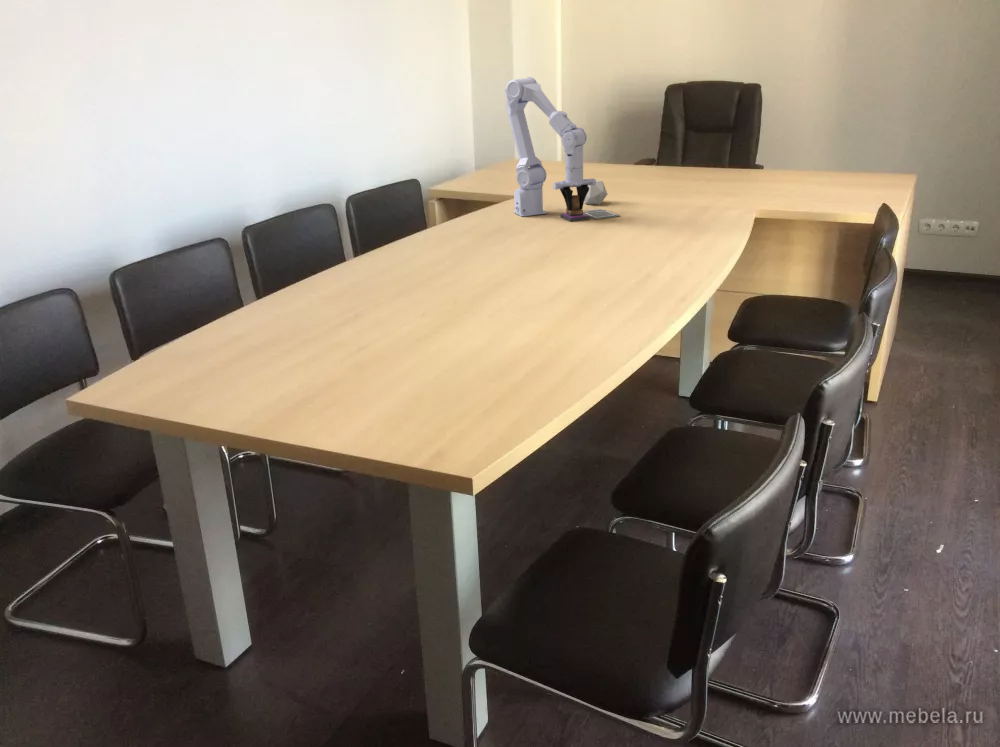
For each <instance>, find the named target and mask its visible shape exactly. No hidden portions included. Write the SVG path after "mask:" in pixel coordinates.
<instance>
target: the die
mask: <svg viewBox="0 0 1000 747" xmlns="http://www.w3.org/2000/svg"><path fill="white" fill-rule="evenodd" d="M588 187H589V191H588V193H587V195H586V197H585V200H584V204H585V205H590V204H591V205H593V206H594V205H595V206H600V205H601V204H602V202H603V201H604V200H605V199H606V197H607V196H608V192H607V189H606V186H605V183H604V180H597V179H596V185H588Z"/></svg>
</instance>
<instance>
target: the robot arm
mask: <svg viewBox="0 0 1000 747" xmlns="http://www.w3.org/2000/svg"><path fill="white" fill-rule="evenodd" d="M504 92H505V96H506V104H505V105H506V106H505V107H506V113H507V116H508V121H509V126H510V128H511V132H512V136H513V140H514V144H515V148H516V152H517V156H518V160H519V161H518V163H517V165H516V166H515V170H516V176H515V178H516V182H517V185H519V187H520V188H516V189H514V193H513V200H514V201H513V203H514V204H513V205H514V210H513V213H514V214H516V215H517V216H520V217H530V216H538V215H545V214H546V215H548V211H546V210H544V200H543V198H544V196H543V192H544V191H543V187H544V183H545V181H546V179H547V171H546V169H545V167H544V166H543V164H542V160H540V159H539V158H538V157H537V156H536V153H535V149H534V146H533V142H532V137H531V133H530V130H529V126H528V122H527V118H526V113H525V110H524V109H525V108H526V106H527V104H528V103H529V102H532V103H533V104H534V105H536V107H538V109H540V110H541V112H542V113H543V114H545V116H547V117H548V124H549V125H550V127H551V128H552V129H553V130H554V131H555V132H556V134H558V136H559V137H560V138H561V139H560V141H561V145H562V146H563V148H564V152H565V153H564V154H565V155H564V156H565V180H561V181H557V182H552V189H553V190H555V191H556V190H559V191H560V193H561V195H562V196H563V197H562V198H563V199H564V202H565V205H566V209H567V210H572V195H573V193H574V190H572V189H571V188H575V189H576V195H579V196H580V209H582V210H583V207H584V204H585V201H584V200H585V197H586V195H587V193H588V191H589V187H588V185H596V180H597V179H595V178H584V145H585V144H586V142H587V134H586V132H585V130H584V129H583V127H577V125H576V124H575V123H573V122H572V121H571V119H570V118H569V117H568V114H567V112H565V111H562V110H558V109H556V107H555V106H554V105H553V104H552V102H551V100H550V99H549V98H548V97H547V96H546V94H545V93H544V91H543V90H542V86H541V84H539V83H538V82H537V80H536V79H535V78H534V77H531V76H528V77H524V78H518V79H516V78H513V79H511V80H509V81H508V83H507V85H506V86H505V89H504Z"/></svg>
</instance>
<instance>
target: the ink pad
mask: <svg viewBox="0 0 1000 747" xmlns="http://www.w3.org/2000/svg"><path fill="white" fill-rule="evenodd" d="M559 217H560V218H561V219H564V220H565V221H568V222H570V223H571V222H579V221H580V220H581V221H587V220H590V218H591V217H590V216H588V215H586V214H583V215H577V216H569V215H568V214H566V212H564V213H560V215H559Z"/></svg>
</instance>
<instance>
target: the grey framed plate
mask: <svg viewBox="0 0 1000 747" xmlns="http://www.w3.org/2000/svg"><path fill="white" fill-rule="evenodd" d="M583 214H586V215H588V216H590V218H591V219H594V220H602V219H603V220H605V219H609V218H619V217H621V215H620V214H617V213H614V212H612V211H609V210H607V209H601V208H594V209H588V210H586V211H585V212H584V211H583Z"/></svg>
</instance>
